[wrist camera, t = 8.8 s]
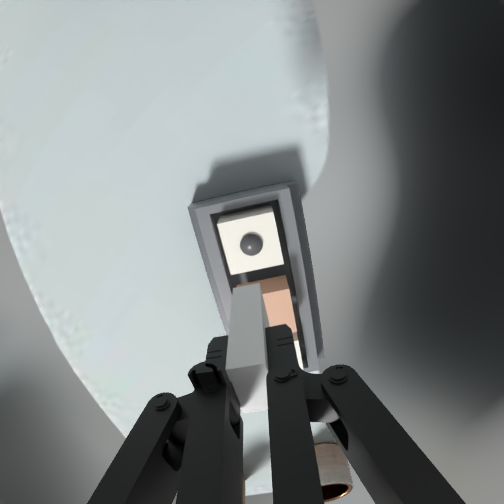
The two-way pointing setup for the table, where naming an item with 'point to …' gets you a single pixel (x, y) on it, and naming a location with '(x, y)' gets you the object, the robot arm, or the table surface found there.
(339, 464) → the planter
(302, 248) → the keypad
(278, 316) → the blank key
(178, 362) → the table surface
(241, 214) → the dot key
